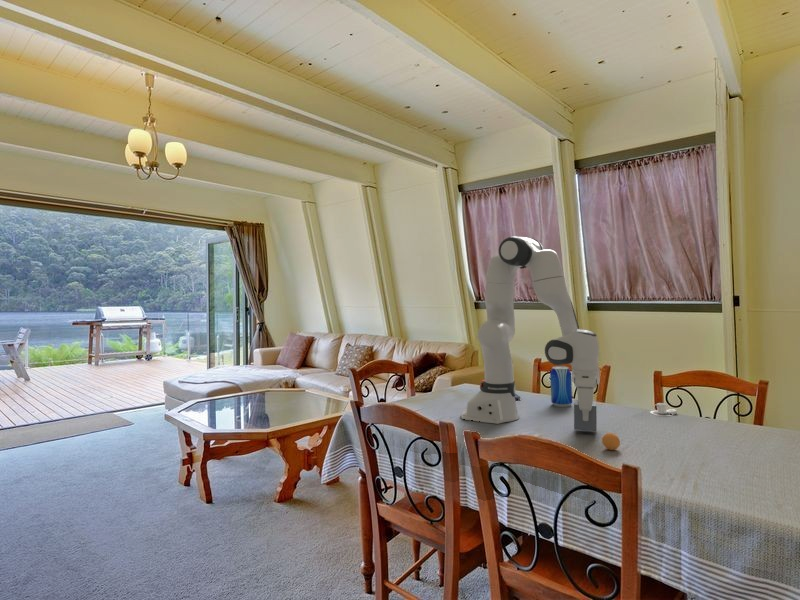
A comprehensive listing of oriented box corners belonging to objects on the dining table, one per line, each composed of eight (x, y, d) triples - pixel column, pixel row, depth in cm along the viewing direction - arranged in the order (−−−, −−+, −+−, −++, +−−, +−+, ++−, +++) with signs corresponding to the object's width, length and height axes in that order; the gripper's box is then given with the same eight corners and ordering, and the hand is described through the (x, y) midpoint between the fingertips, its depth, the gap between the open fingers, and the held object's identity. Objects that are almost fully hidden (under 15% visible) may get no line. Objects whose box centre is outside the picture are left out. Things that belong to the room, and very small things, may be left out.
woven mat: (515, 396, 217) (515, 391, 217) (521, 401, 206) (521, 397, 206) (493, 397, 216) (493, 393, 216) (498, 402, 206) (498, 398, 206)
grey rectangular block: (574, 429, 156) (574, 404, 156) (574, 423, 163) (574, 399, 162) (596, 431, 154) (596, 406, 153) (596, 425, 160) (596, 401, 160)
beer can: (573, 407, 190) (572, 369, 190) (552, 407, 192) (551, 369, 191) (570, 402, 198) (569, 365, 198) (550, 402, 200) (548, 365, 200)
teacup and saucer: (678, 414, 176) (678, 403, 176) (672, 418, 170) (672, 407, 170) (653, 410, 182) (653, 400, 182) (647, 415, 177) (646, 404, 176)
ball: (602, 451, 139) (602, 435, 139) (601, 446, 144) (601, 430, 144) (620, 453, 138) (620, 436, 137) (619, 447, 142) (618, 431, 142)
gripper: (576, 371, 168) (576, 408, 169) (574, 382, 149) (575, 424, 150) (595, 371, 166) (595, 409, 166) (595, 383, 147) (596, 426, 147)
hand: (585, 416), depth 158 cm, fingers closed on grey rectangular block, 7 cm apart
